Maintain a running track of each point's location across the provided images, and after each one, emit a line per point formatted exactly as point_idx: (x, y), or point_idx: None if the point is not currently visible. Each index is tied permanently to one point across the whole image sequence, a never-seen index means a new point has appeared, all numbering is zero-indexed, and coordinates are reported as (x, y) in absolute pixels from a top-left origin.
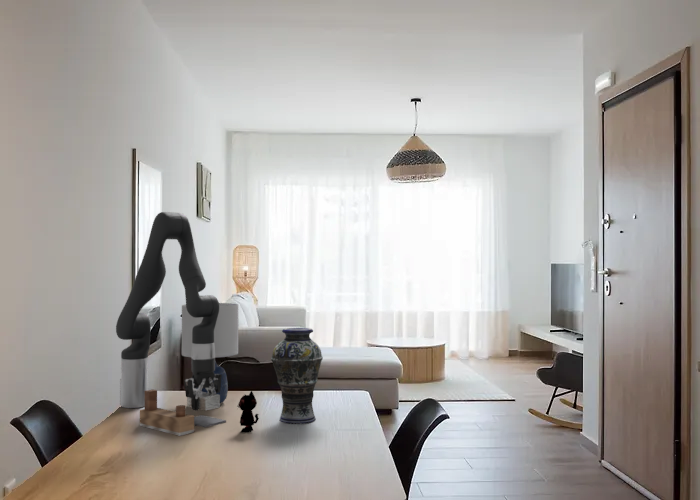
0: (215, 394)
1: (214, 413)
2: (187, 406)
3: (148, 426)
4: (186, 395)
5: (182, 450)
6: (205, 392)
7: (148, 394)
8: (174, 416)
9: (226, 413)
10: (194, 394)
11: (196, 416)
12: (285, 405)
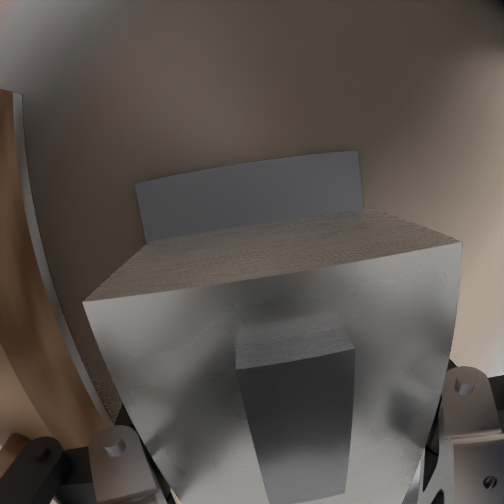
0: (396, 494)
1: (458, 131)
2: (148, 245)
3: None
4: (29, 459)
5: (52, 501)
6: (447, 348)
7: None
8: (3, 435)
9: (494, 192)
10: (148, 475)
11: (300, 158)
12: None
